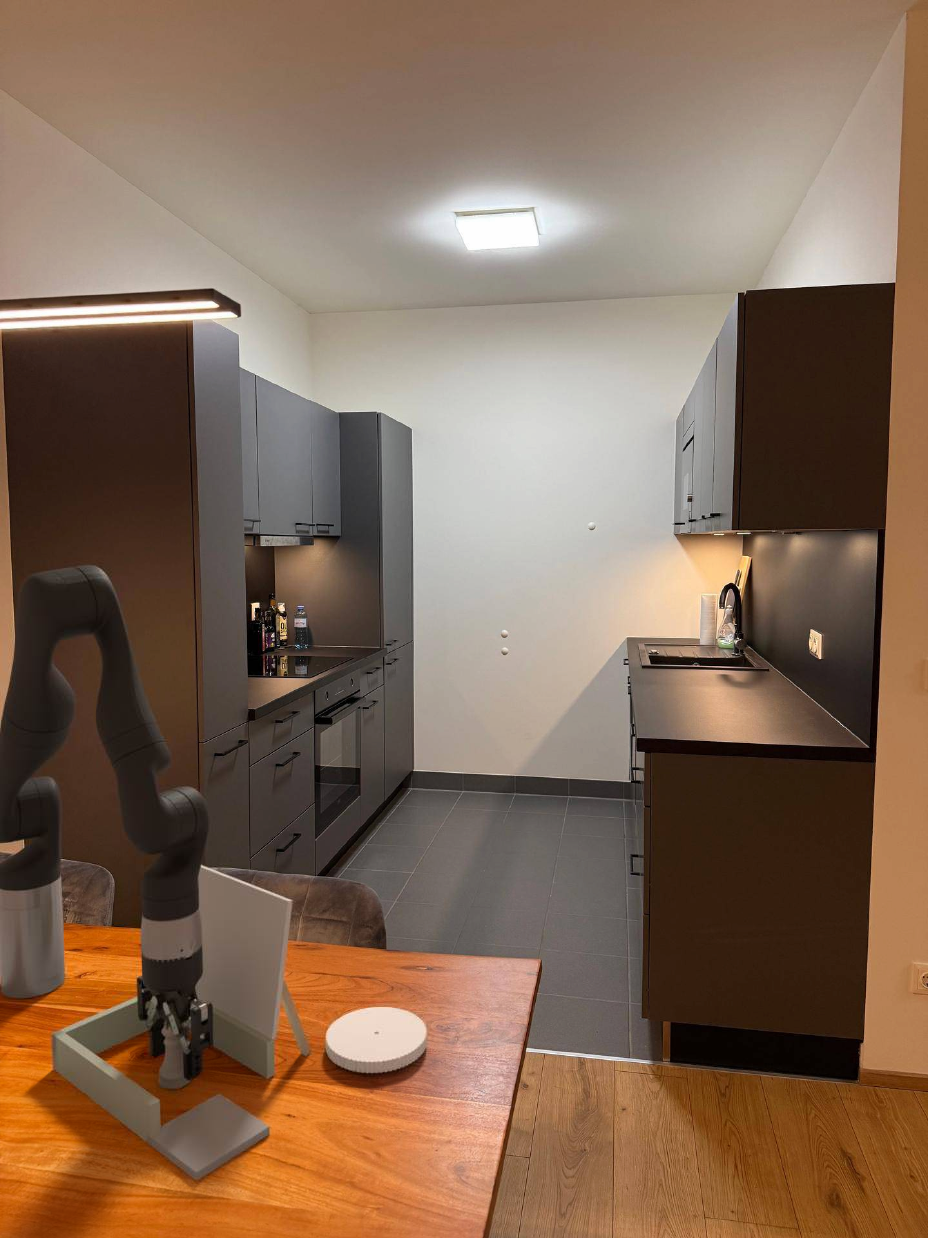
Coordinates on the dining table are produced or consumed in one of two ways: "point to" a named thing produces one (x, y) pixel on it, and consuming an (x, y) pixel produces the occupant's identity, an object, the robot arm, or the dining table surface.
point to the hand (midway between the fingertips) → (175, 1065)
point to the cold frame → (122, 1023)
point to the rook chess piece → (172, 1060)
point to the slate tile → (208, 1136)
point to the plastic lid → (376, 1039)
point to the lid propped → (243, 949)
